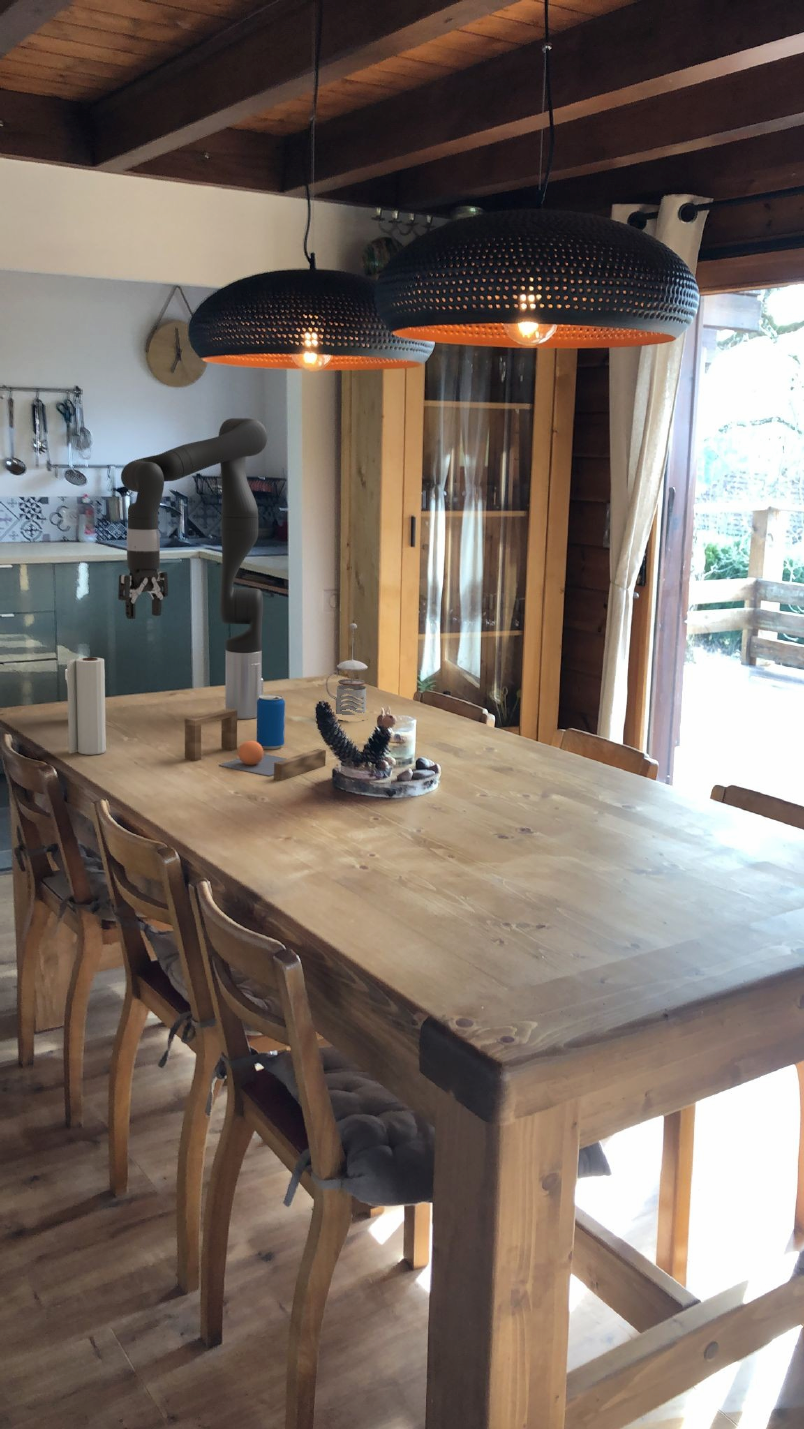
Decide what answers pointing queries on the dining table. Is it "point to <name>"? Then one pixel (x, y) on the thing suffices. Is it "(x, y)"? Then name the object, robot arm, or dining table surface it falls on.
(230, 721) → the bridge
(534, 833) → the dining table surface
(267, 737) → the beverage can
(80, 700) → the paper towel roll
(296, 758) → the stopper
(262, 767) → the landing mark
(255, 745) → the ball
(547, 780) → the dining table surface
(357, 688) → the french press
